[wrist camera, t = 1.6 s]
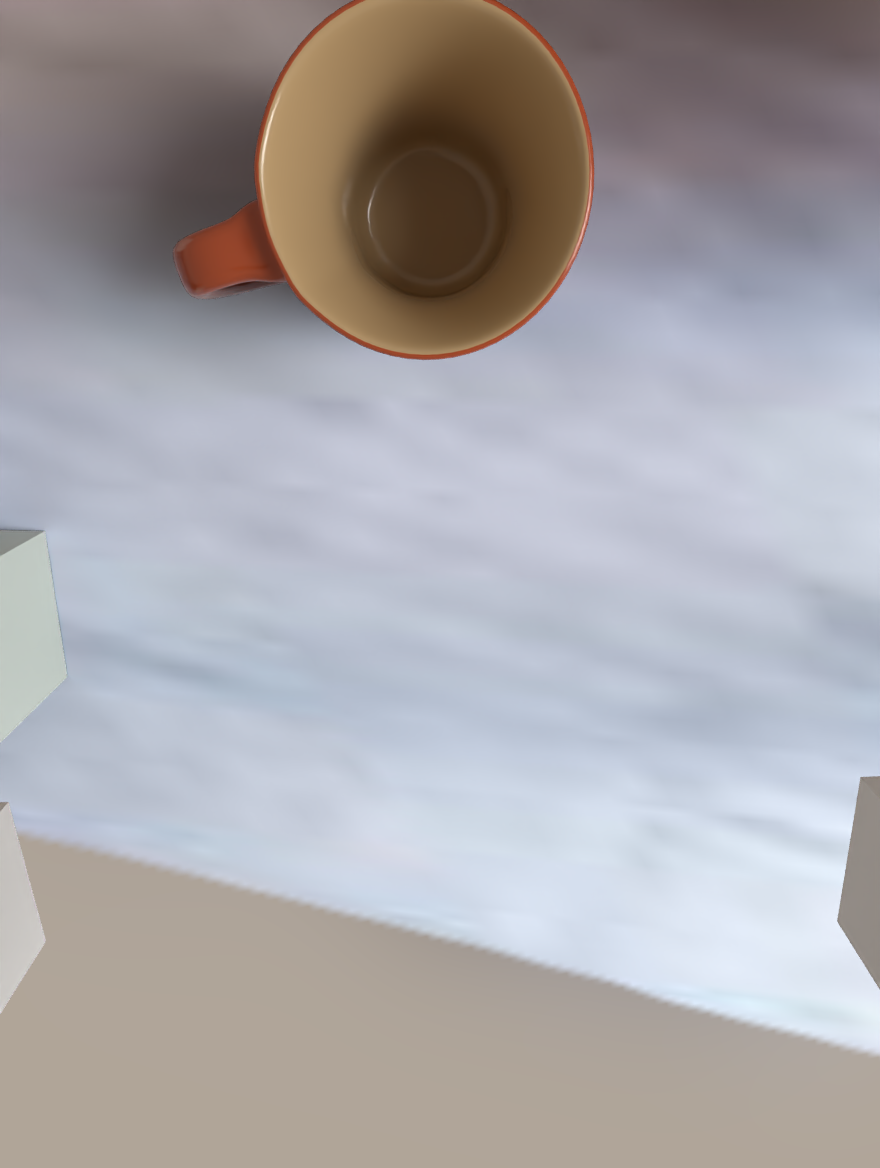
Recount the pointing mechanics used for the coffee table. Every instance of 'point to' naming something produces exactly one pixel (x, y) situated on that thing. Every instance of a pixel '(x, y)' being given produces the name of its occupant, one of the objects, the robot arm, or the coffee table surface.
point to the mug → (411, 179)
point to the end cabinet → (27, 627)
